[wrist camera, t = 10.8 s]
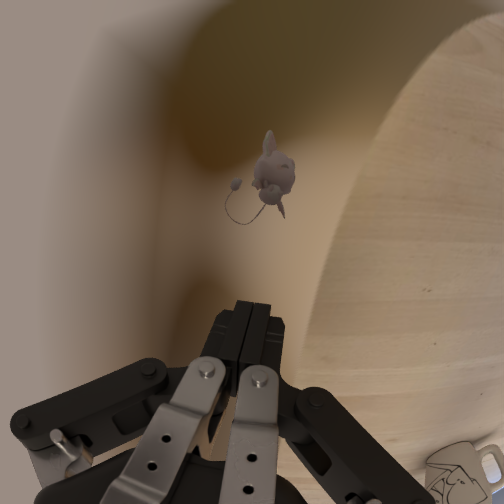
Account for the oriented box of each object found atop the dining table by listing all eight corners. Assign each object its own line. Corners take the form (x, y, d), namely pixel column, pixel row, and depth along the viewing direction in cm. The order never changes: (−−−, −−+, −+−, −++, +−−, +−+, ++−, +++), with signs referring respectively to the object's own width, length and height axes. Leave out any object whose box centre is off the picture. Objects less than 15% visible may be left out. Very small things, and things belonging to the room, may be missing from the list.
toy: (260, 193, 35) (283, 117, 42) (211, 200, 40) (241, 128, 46) (297, 241, 44) (311, 168, 50) (253, 243, 48) (273, 173, 54)
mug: (502, 416, 19) (522, 485, 10) (495, 440, 22) (509, 498, 13) (414, 455, 23) (420, 528, 15) (421, 472, 26) (425, 532, 17)
